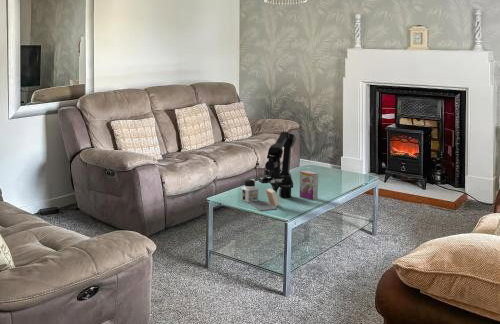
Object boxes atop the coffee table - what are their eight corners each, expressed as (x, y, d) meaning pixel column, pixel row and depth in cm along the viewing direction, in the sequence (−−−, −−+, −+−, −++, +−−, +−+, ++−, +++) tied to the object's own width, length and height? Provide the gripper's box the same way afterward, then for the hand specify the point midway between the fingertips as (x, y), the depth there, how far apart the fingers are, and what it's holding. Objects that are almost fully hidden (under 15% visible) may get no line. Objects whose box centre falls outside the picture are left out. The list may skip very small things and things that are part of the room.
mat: (264, 201, 359) (264, 200, 358) (276, 209, 342) (276, 208, 342) (248, 203, 355) (248, 202, 355) (260, 210, 338) (260, 210, 338)
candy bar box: (299, 196, 369) (299, 171, 366) (304, 195, 373) (304, 170, 369) (312, 200, 361) (313, 174, 358) (317, 198, 365) (318, 173, 361)
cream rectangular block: (274, 201, 355) (270, 188, 352) (279, 204, 348) (275, 191, 345) (269, 203, 354) (265, 189, 352) (275, 206, 347) (270, 193, 344)
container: (248, 202, 356) (248, 181, 353) (241, 199, 362) (241, 179, 360) (258, 200, 361) (258, 179, 358) (251, 197, 367) (251, 177, 364)
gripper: (284, 163, 357) (283, 188, 361) (255, 166, 351) (255, 191, 354) (292, 167, 347) (291, 193, 350) (262, 169, 341) (262, 195, 344)
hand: (275, 193), depth 350 cm, fingers closed
